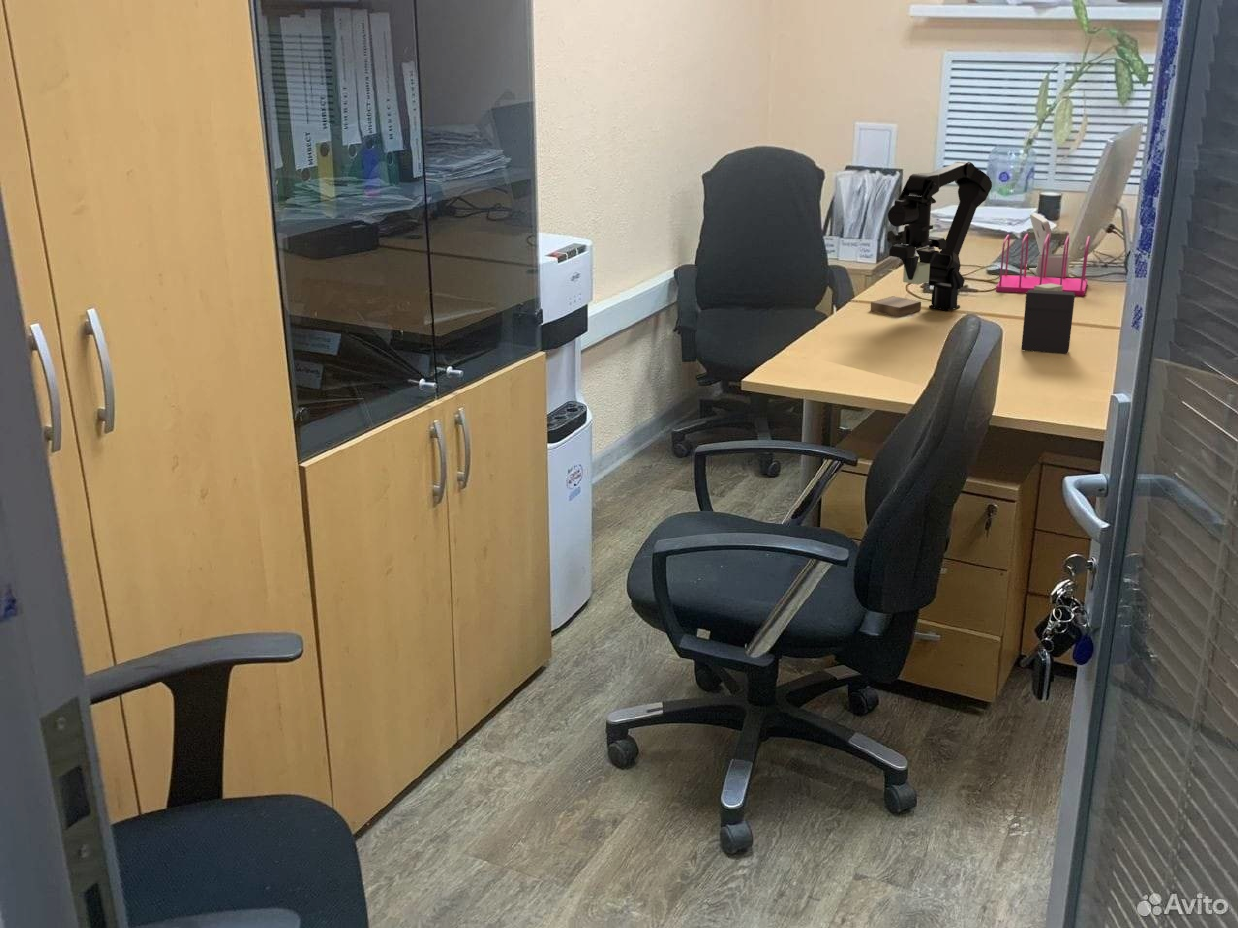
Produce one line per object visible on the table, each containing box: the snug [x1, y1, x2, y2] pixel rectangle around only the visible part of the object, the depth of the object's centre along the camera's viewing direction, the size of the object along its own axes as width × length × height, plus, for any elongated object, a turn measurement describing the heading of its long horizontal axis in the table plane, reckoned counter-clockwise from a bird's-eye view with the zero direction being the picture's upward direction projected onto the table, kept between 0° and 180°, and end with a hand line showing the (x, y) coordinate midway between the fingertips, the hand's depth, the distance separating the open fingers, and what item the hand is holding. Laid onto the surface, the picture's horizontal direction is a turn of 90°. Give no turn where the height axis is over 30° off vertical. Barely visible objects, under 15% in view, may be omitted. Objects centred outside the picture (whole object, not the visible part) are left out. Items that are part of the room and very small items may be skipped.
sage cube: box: [902, 261, 930, 285], centre depth 319 cm, size 5×5×5 cm
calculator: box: [1021, 290, 1076, 355], centre depth 284 cm, size 11×4×15 cm, turn 65°
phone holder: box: [1028, 212, 1071, 278], centre depth 369 cm, size 17×10×18 cm, turn 177°
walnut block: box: [870, 295, 922, 317], centre depth 330 cm, size 10×10×3 cm
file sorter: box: [995, 233, 1091, 297], centre depth 348 cm, size 17×25×16 cm
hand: (916, 278), depth 319 cm, fingers closed on sage cube, 5 cm apart
